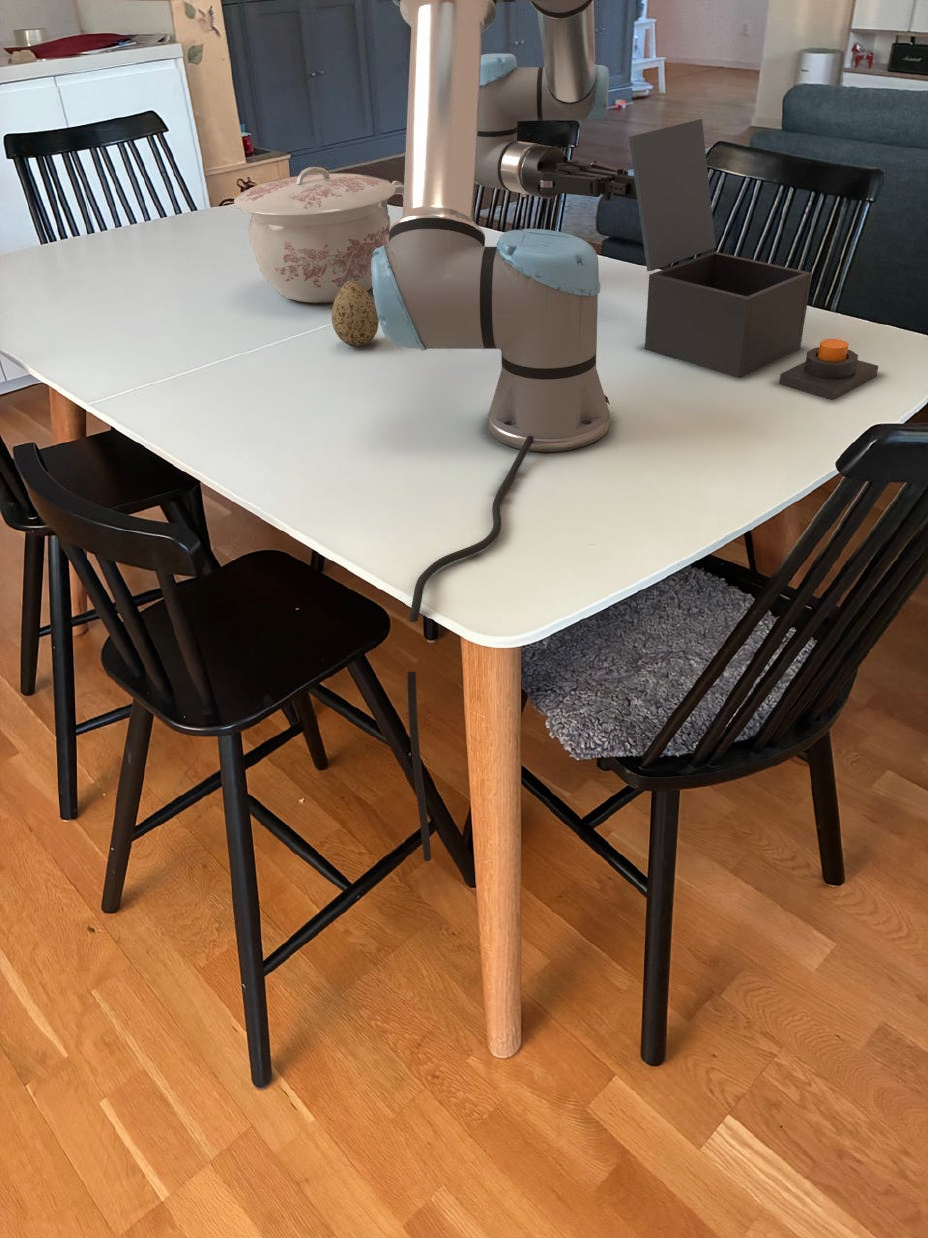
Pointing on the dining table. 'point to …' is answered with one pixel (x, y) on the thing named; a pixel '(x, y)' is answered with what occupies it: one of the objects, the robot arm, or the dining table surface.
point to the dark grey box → (726, 312)
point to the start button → (833, 350)
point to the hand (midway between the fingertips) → (650, 190)
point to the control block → (828, 375)
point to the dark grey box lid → (673, 193)
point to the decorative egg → (354, 315)
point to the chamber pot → (318, 230)
